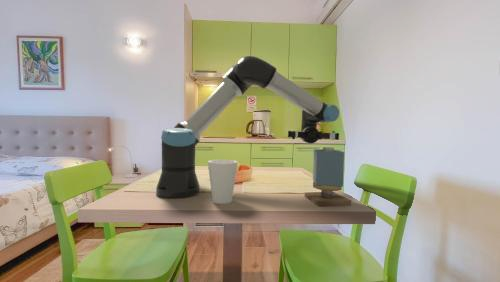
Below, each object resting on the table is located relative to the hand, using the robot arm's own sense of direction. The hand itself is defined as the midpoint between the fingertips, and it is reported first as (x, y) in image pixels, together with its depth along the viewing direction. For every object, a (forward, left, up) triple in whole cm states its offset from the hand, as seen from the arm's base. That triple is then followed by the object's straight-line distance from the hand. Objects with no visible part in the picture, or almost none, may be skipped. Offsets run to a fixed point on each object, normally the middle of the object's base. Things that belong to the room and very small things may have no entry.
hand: (315, 135), depth 90 cm
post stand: (+10, 0, -22) cm, 24 cm away
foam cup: (+6, -35, -22) cm, 42 cm away
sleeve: (+10, 0, -16) cm, 19 cm away
